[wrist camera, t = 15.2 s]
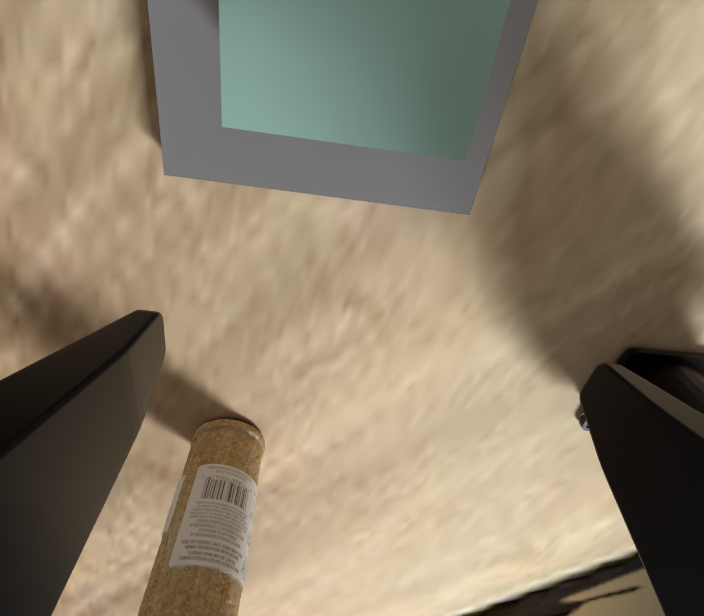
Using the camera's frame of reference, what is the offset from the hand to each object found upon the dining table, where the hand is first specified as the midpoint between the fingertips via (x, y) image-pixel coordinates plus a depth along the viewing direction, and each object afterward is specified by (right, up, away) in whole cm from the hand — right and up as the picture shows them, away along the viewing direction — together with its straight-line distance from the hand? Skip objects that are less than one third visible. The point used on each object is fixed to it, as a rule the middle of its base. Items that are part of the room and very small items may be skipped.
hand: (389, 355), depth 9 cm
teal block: (-1, +7, 0) cm, 8 cm away
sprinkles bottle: (-8, -7, +18) cm, 21 cm away
